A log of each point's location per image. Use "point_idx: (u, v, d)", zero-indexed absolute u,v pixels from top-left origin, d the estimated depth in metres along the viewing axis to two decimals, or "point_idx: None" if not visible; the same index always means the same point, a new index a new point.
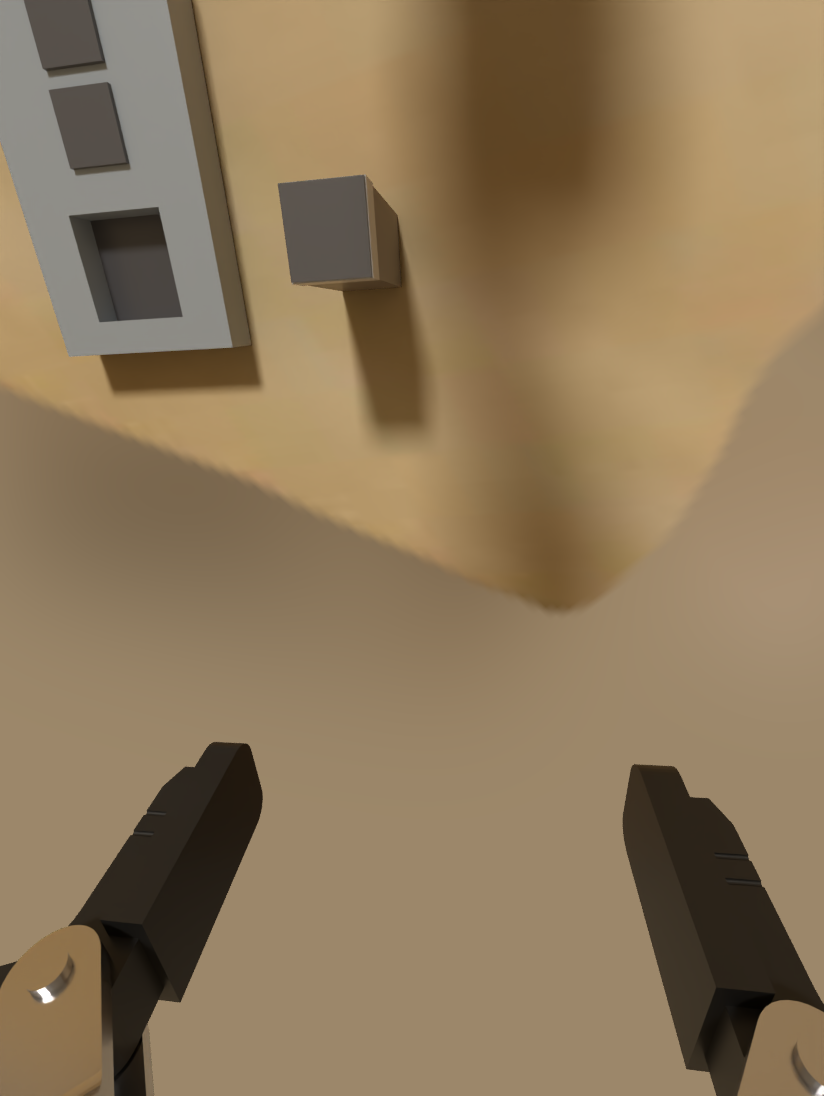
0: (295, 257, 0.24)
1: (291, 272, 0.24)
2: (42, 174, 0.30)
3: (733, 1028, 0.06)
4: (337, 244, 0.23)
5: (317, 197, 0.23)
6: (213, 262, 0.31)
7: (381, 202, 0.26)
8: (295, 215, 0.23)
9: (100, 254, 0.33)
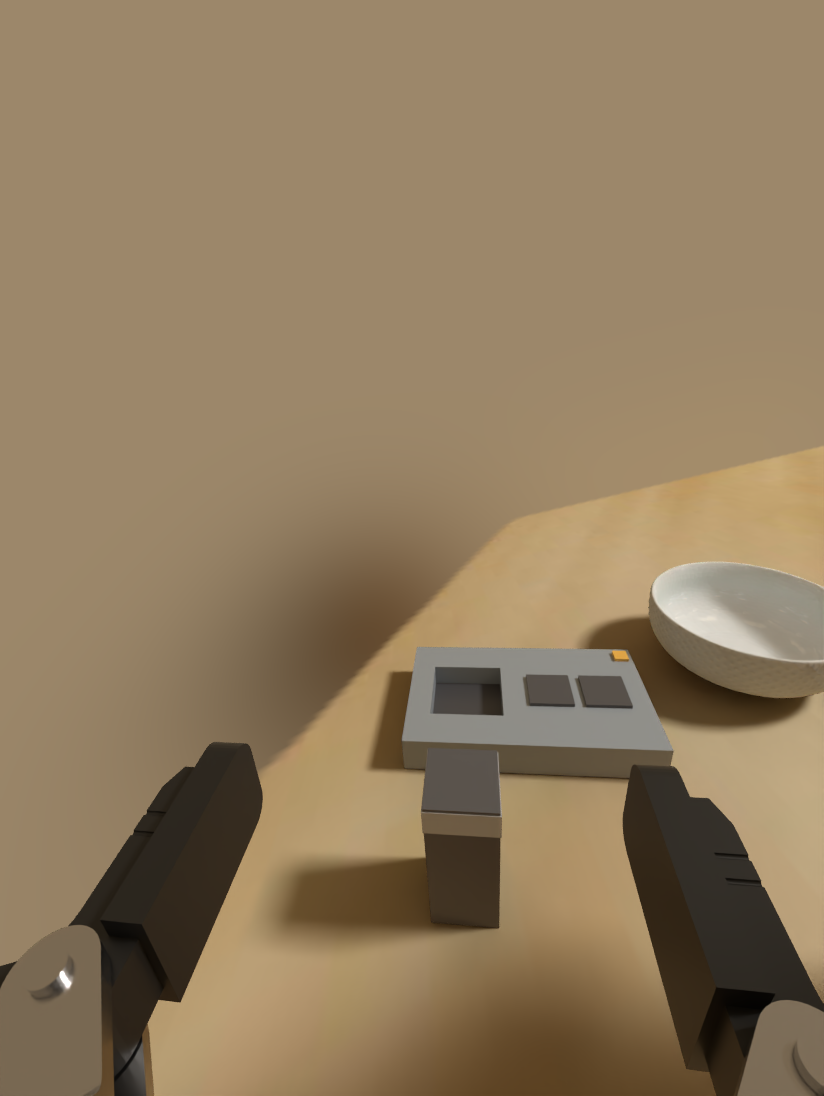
0: (445, 753, 0.29)
1: (435, 749, 0.29)
2: (523, 661, 0.46)
3: (733, 1028, 0.06)
4: (450, 785, 0.27)
5: (486, 776, 0.27)
6: (464, 741, 0.38)
7: (494, 866, 0.27)
8: (474, 758, 0.28)
9: (479, 684, 0.47)
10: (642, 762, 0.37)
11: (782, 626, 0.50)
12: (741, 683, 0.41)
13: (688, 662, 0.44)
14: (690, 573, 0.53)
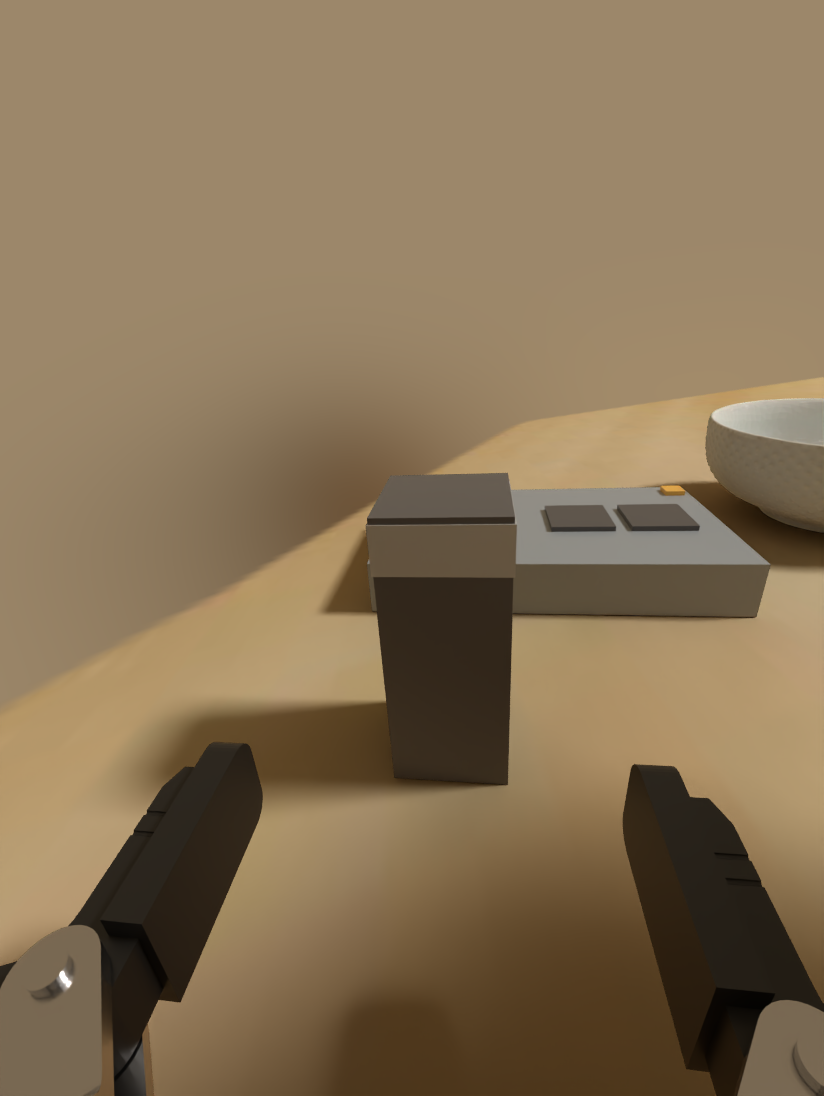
0: (419, 478, 0.17)
1: None
2: (540, 499, 0.34)
3: (733, 1028, 0.06)
4: (424, 499, 0.15)
5: (488, 490, 0.15)
6: None
7: (501, 649, 0.15)
8: (469, 479, 0.16)
9: None
10: (720, 588, 0.25)
11: None
12: None
13: (770, 489, 0.32)
14: (756, 414, 0.41)
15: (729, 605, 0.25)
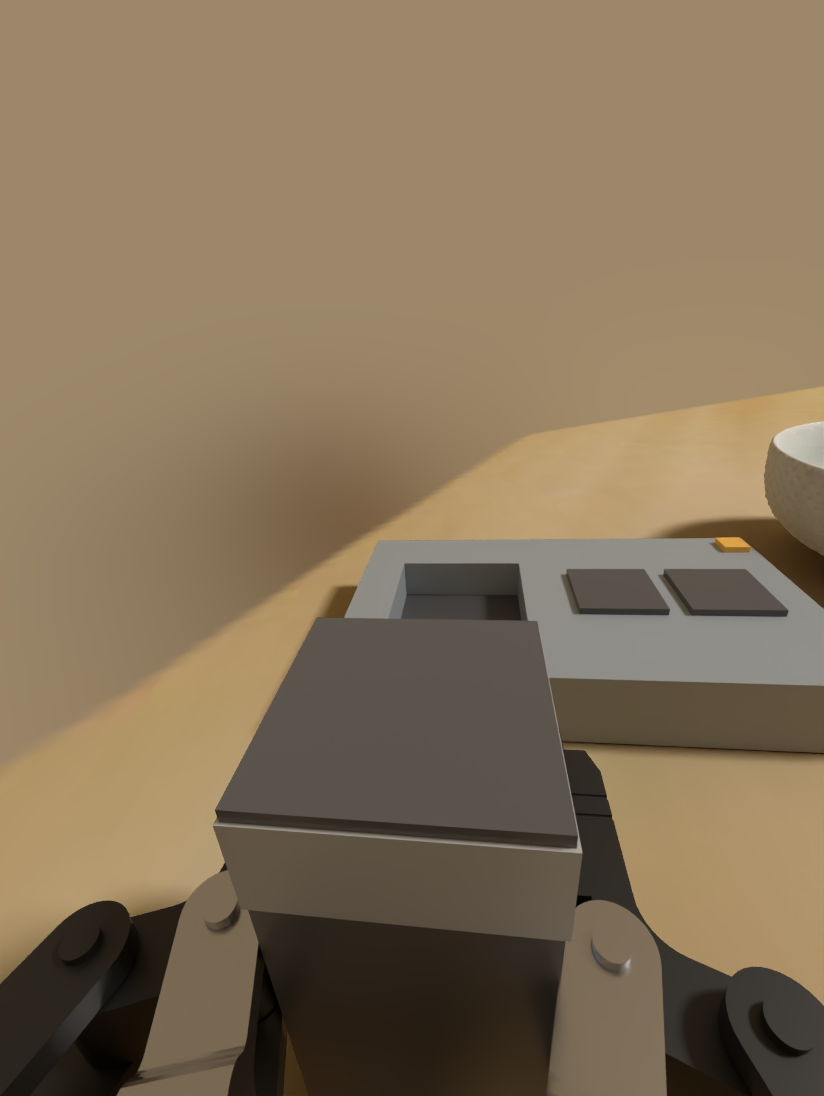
0: (368, 629, 0.09)
1: (338, 619, 0.09)
2: (558, 555, 0.26)
3: None
4: (365, 718, 0.07)
5: (503, 688, 0.07)
6: None
7: (531, 1037, 0.07)
8: (463, 640, 0.08)
9: (482, 596, 0.27)
10: None
11: None
12: None
13: None
14: (823, 438, 0.33)
15: None
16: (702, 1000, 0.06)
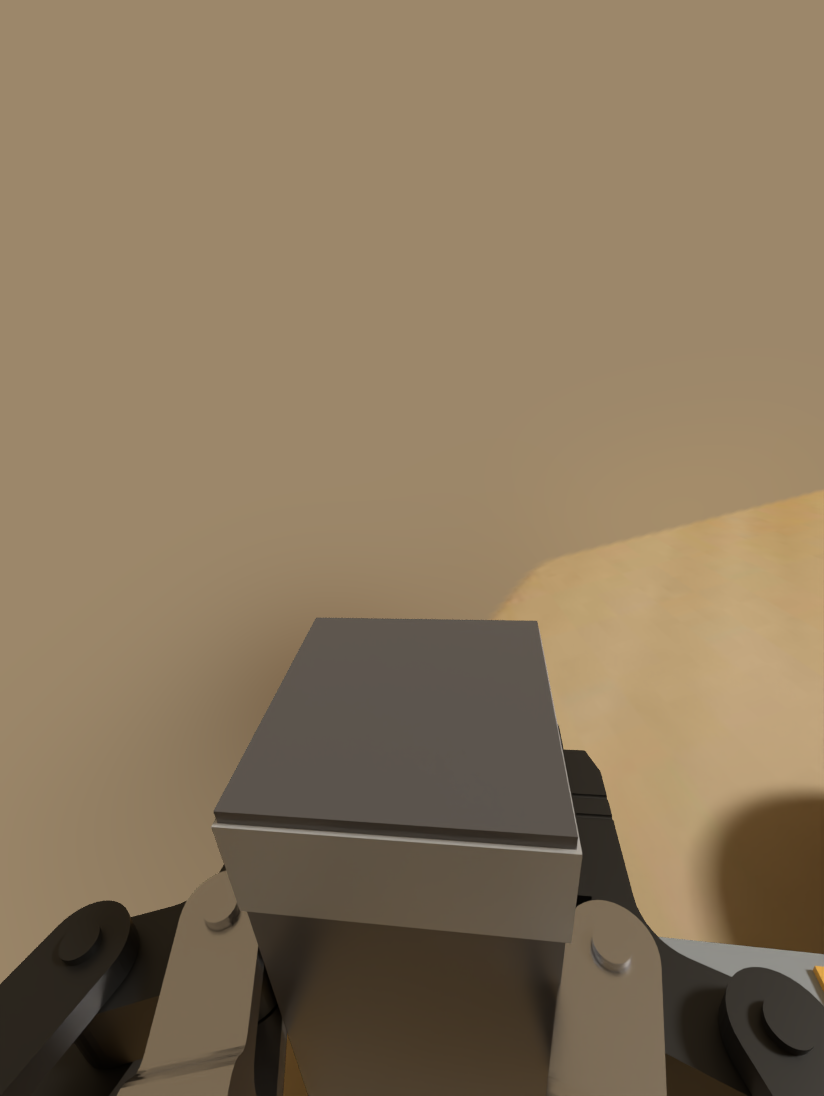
0: (367, 630, 0.09)
1: (337, 619, 0.09)
2: None
3: None
4: (364, 719, 0.07)
5: (502, 688, 0.07)
6: None
7: (531, 1038, 0.07)
8: (462, 640, 0.08)
9: None
10: None
11: None
12: None
13: None
14: None
15: None
16: (702, 1000, 0.06)
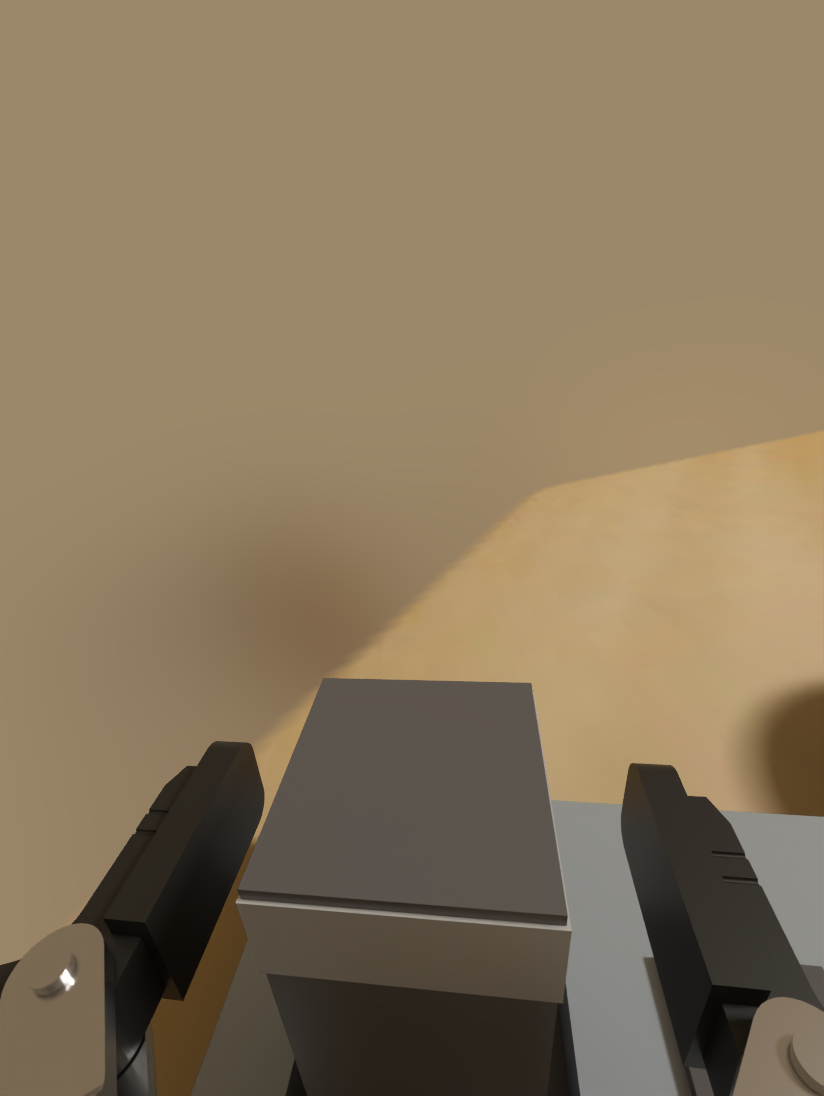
0: (372, 692, 0.09)
1: (343, 680, 0.10)
2: (628, 869, 0.14)
3: (729, 1025, 0.06)
4: (372, 791, 0.07)
5: (499, 758, 0.08)
6: None
7: (527, 1082, 0.08)
8: (461, 705, 0.09)
9: None
10: None
11: None
12: None
13: None
14: None
15: None
16: None
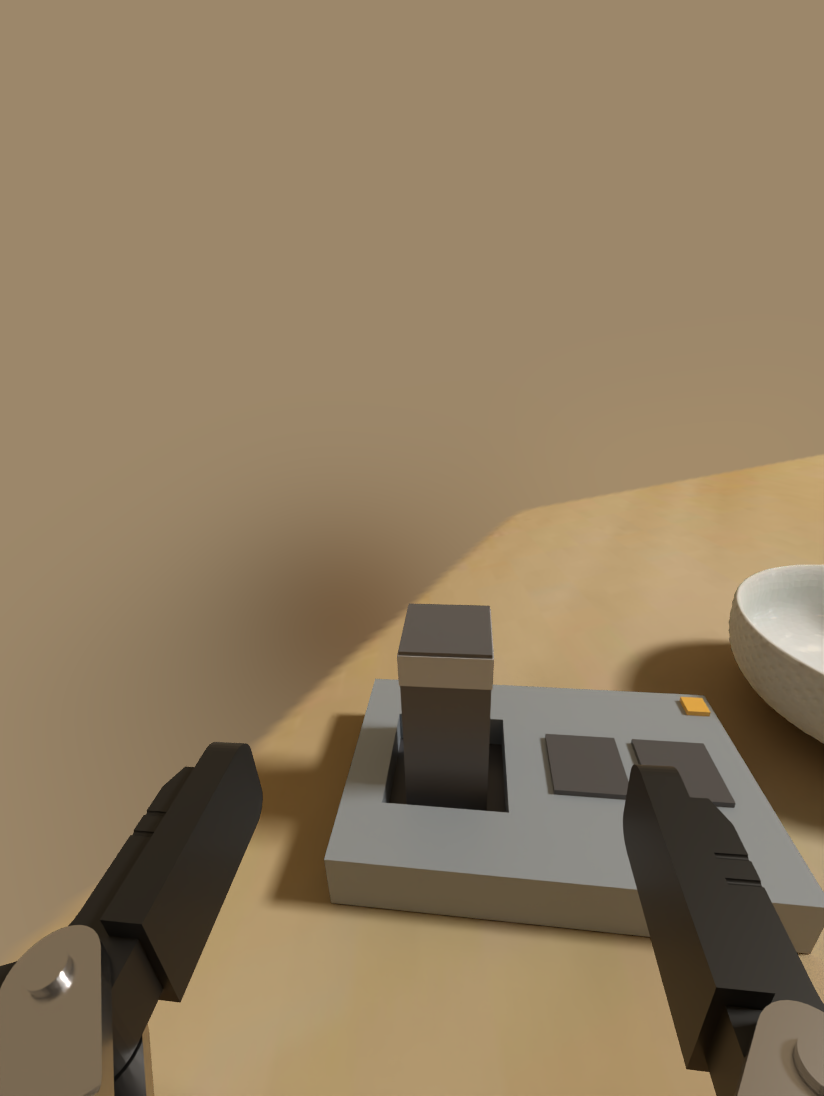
0: (429, 608, 0.25)
1: (417, 604, 0.25)
2: (539, 710, 0.29)
3: (733, 1028, 0.06)
4: (434, 632, 0.23)
5: (476, 625, 0.23)
6: (438, 865, 0.21)
7: (482, 732, 0.23)
8: (463, 611, 0.24)
9: None
10: None
11: None
12: None
13: (812, 723, 0.27)
14: (784, 581, 0.36)
15: None
16: None
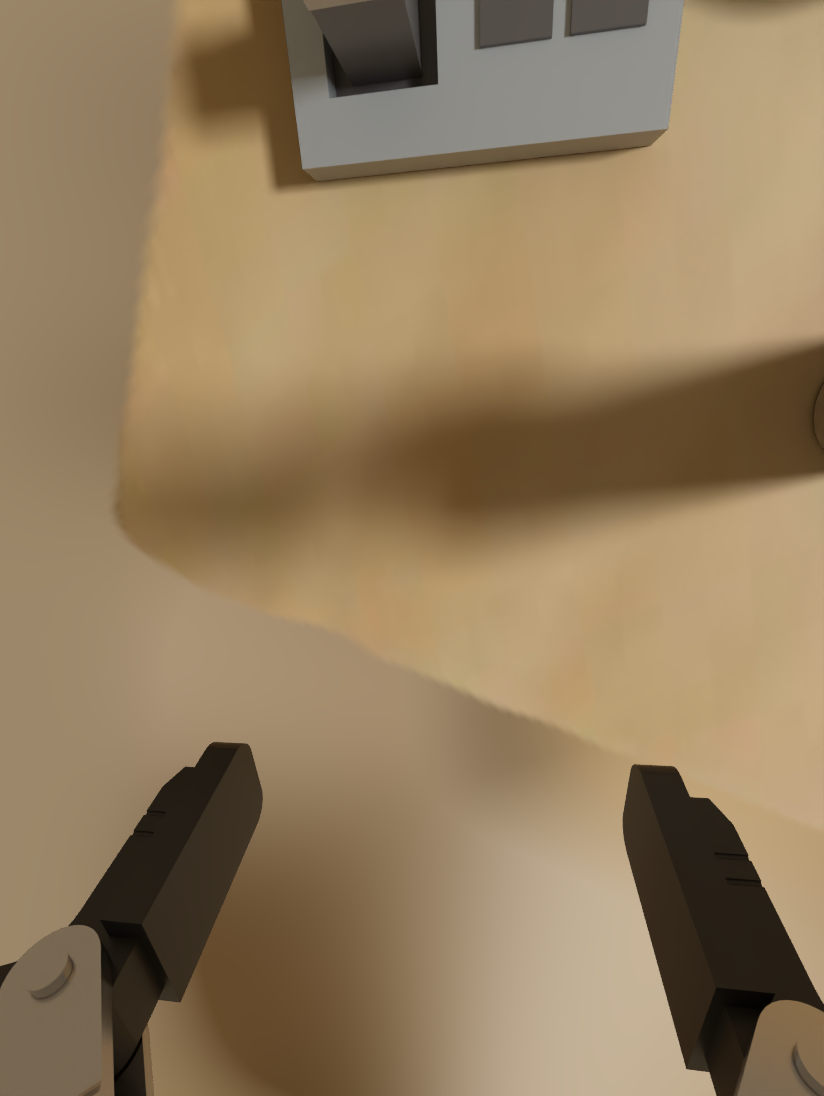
0: None
1: None
2: None
3: (733, 1028, 0.06)
4: None
5: None
6: (385, 155, 0.28)
7: (403, 25, 0.23)
8: None
9: None
10: (621, 140, 0.28)
11: None
12: None
13: None
14: None
15: (627, 145, 0.29)
16: None
